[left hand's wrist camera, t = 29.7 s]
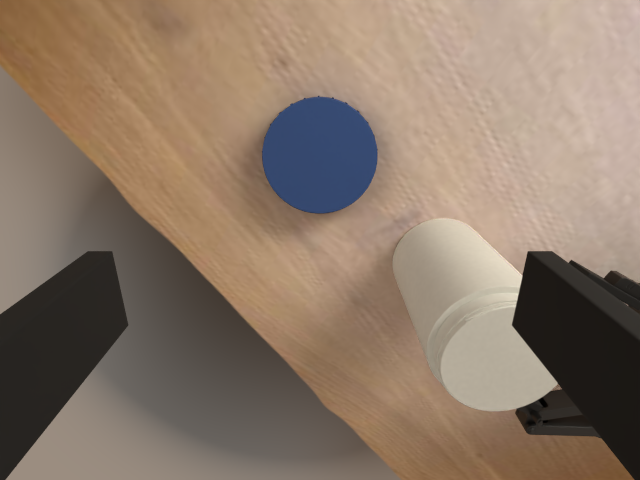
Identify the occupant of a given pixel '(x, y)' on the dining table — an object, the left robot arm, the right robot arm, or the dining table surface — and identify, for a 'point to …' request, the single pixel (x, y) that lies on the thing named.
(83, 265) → the left robot arm
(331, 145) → the lid
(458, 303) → the jar
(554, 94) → the dining table surface
